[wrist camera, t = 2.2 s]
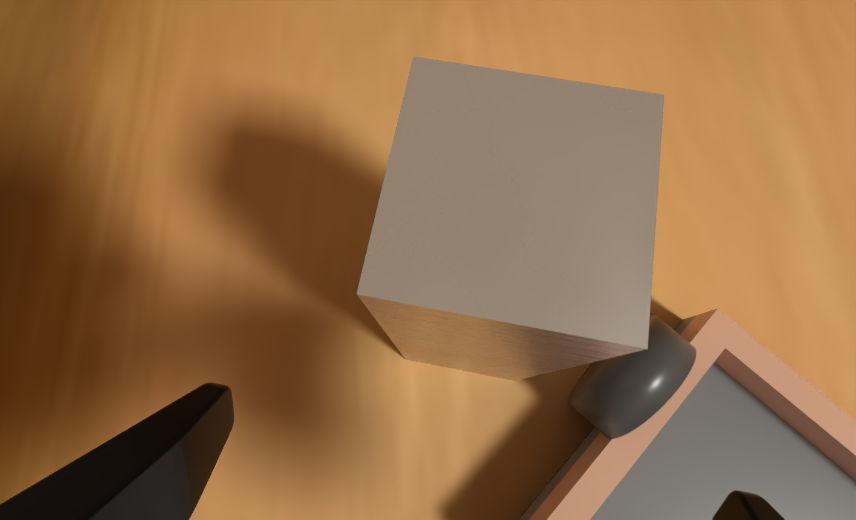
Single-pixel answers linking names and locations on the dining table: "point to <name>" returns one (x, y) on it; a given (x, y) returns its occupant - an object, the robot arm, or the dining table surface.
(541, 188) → the block
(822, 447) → the chassis
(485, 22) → the dining table surface
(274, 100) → the dining table surface
